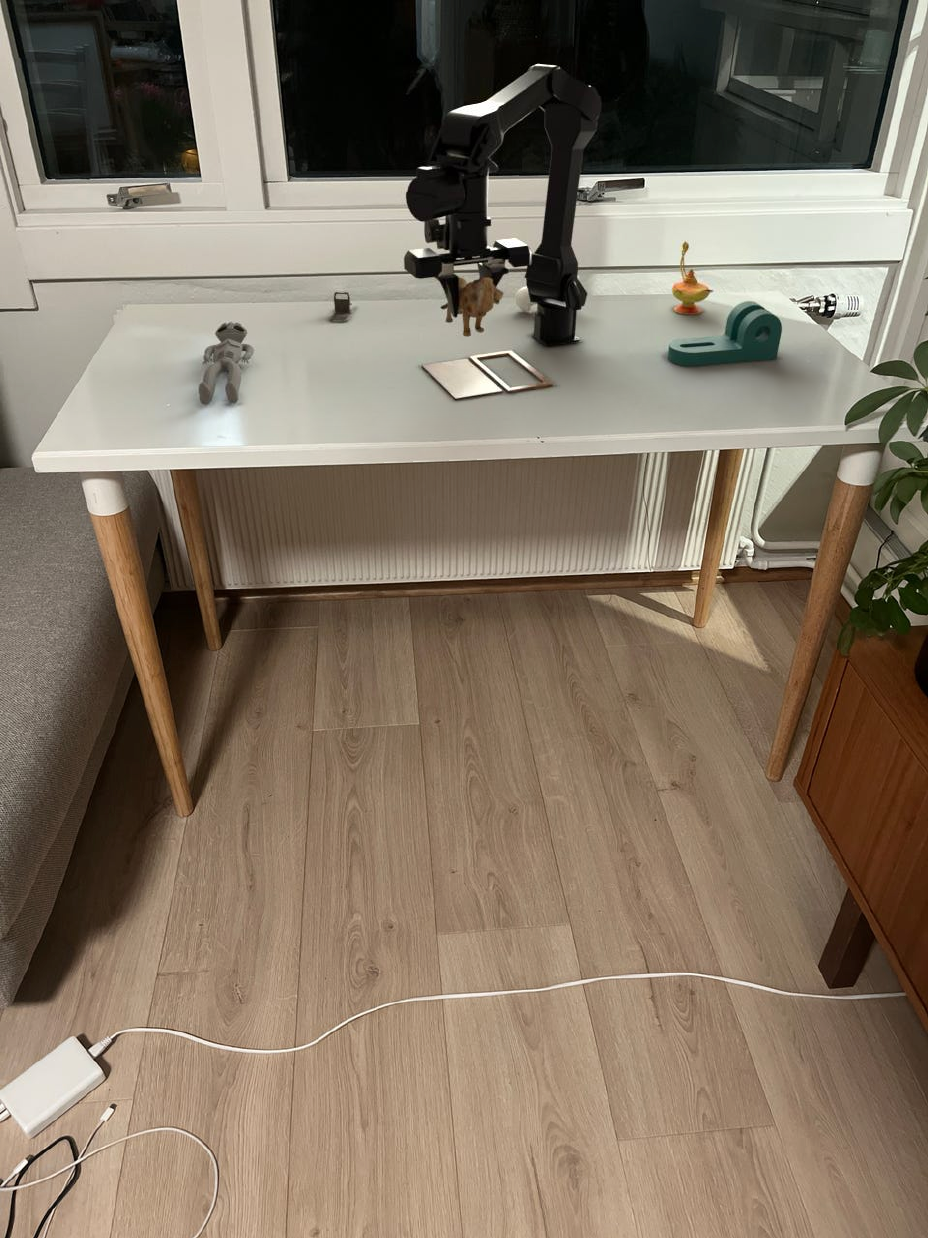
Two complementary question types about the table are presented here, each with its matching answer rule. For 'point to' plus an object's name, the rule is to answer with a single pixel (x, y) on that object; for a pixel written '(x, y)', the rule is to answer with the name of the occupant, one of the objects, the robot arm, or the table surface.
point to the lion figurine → (475, 302)
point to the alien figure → (225, 361)
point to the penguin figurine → (524, 299)
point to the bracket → (733, 339)
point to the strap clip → (342, 308)
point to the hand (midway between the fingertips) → (468, 314)
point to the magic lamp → (689, 289)
